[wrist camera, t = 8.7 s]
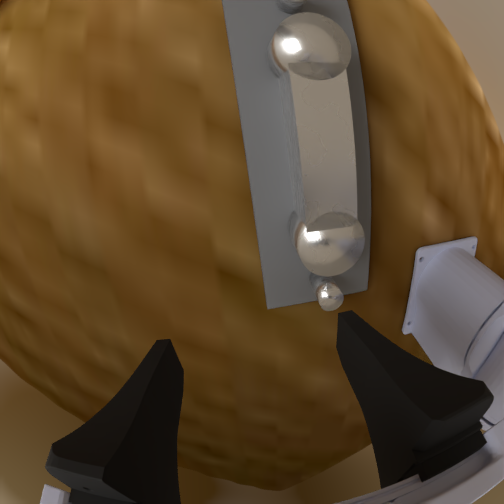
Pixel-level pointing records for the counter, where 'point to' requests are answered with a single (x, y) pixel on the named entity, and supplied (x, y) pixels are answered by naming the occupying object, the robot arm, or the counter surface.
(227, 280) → the counter surface
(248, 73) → the grey metal plate
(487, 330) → the robot arm
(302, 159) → the ball knob lever
